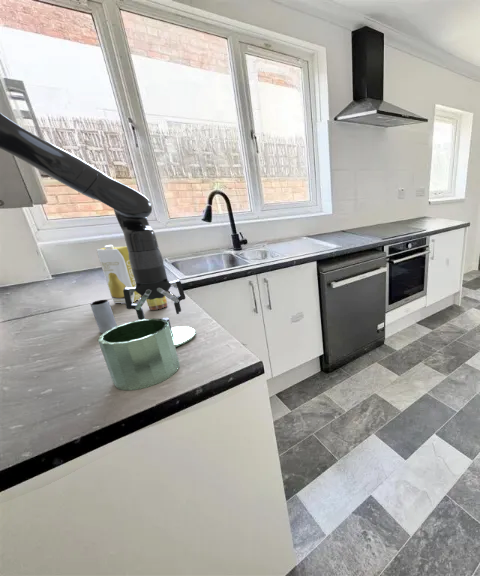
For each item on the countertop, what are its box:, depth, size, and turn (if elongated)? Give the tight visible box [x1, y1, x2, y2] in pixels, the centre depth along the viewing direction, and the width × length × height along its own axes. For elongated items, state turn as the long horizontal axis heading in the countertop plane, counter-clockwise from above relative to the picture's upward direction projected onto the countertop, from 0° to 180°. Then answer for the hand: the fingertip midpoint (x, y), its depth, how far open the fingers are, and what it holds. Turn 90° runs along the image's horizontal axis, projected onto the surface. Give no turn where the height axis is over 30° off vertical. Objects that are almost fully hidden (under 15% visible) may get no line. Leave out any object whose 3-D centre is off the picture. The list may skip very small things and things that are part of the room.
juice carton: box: [96, 244, 141, 304], centre depth 126 cm, size 9×8×24 cm
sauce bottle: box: [145, 296, 168, 311], centre depth 119 cm, size 7×6×20 cm
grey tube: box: [89, 299, 118, 334], centre depth 102 cm, size 4×4×10 cm
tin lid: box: [161, 317, 196, 348], centre depth 95 cm, size 15×15×7 cm
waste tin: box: [97, 317, 181, 391], centre depth 78 cm, size 14×14×12 cm
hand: (161, 316), depth 93 cm, fingers open, 8 cm apart
